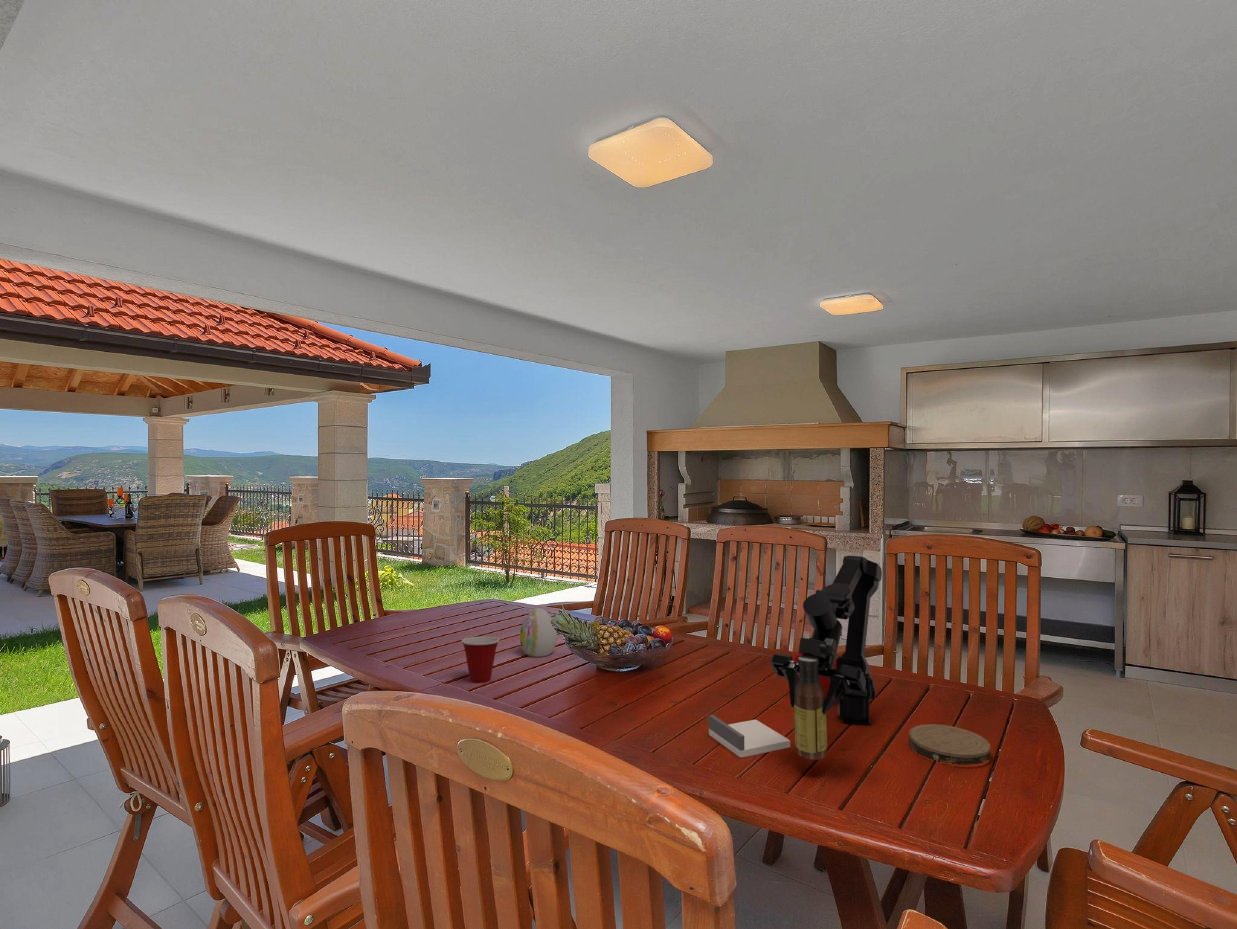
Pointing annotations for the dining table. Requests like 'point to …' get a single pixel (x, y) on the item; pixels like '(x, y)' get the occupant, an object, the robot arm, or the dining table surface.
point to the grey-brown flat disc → (949, 744)
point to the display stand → (746, 737)
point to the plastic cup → (480, 657)
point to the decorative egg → (538, 634)
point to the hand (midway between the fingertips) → (807, 709)
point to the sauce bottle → (810, 711)
